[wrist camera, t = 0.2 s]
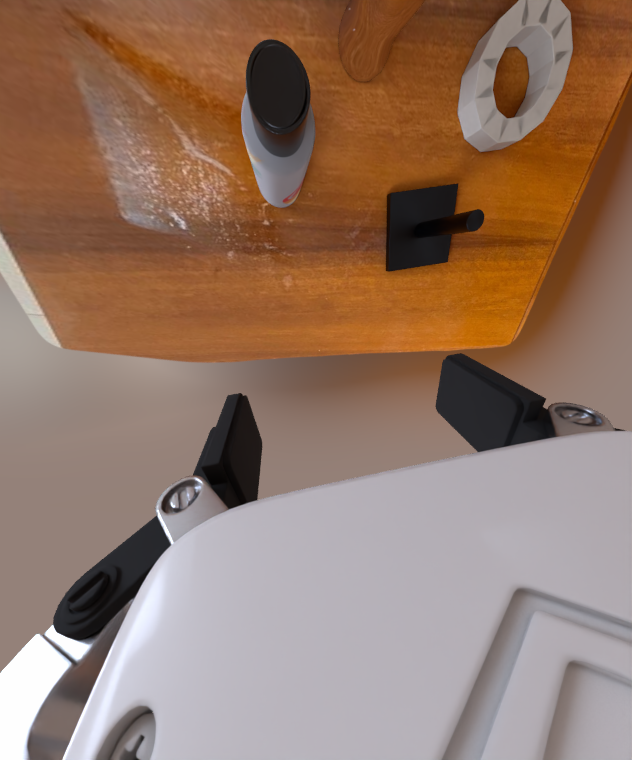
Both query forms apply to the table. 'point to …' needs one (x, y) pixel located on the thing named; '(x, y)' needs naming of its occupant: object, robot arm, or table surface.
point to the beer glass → (371, 34)
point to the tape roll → (546, 69)
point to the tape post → (424, 226)
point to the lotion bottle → (278, 121)
